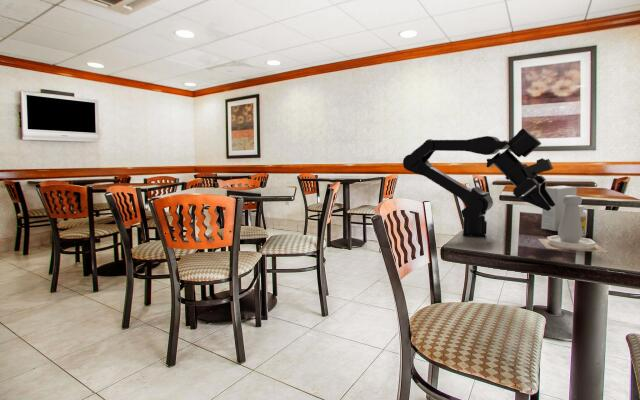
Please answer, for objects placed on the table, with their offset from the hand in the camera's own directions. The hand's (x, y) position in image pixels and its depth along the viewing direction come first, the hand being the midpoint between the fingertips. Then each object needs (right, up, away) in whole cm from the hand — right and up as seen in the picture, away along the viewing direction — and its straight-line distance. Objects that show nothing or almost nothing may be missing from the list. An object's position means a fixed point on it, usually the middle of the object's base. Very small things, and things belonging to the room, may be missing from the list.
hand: (551, 207), depth 106 cm
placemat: (+4, -11, -2) cm, 12 cm away
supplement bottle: (+14, -9, +11) cm, 21 cm away
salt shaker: (+4, -10, -2) cm, 11 cm away
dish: (+4, -10, -2) cm, 11 cm away
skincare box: (+14, -8, +20) cm, 26 cm away
